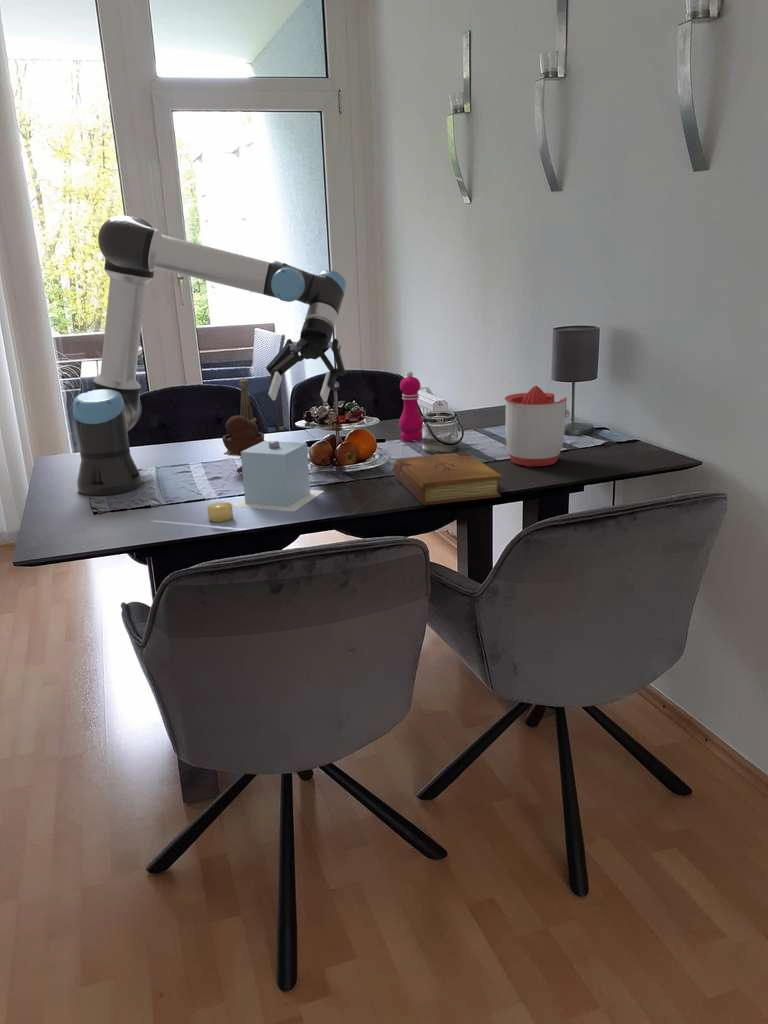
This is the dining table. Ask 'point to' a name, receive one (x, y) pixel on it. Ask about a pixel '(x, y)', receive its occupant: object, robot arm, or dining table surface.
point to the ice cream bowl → (241, 435)
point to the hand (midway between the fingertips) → (297, 397)
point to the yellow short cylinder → (220, 511)
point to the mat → (292, 508)
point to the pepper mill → (410, 409)
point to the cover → (275, 473)
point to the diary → (446, 478)
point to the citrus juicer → (534, 427)
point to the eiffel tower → (245, 404)
